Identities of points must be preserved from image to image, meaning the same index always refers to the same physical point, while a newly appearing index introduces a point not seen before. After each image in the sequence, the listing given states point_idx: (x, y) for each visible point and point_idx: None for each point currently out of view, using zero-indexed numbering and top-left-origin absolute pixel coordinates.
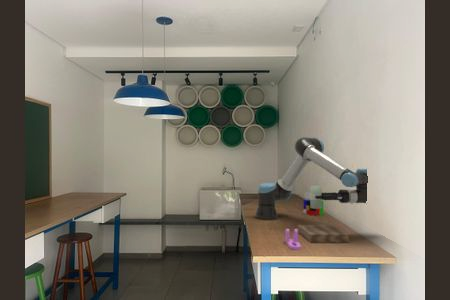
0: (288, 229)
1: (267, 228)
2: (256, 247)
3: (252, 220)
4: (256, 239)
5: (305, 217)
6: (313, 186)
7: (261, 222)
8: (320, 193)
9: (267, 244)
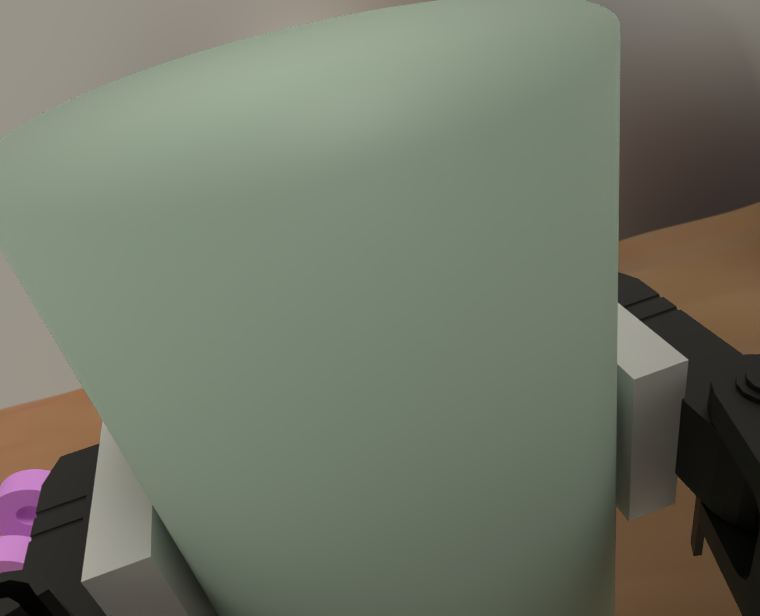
0: (2, 492)
1: None
2: (3, 416)
3: (719, 235)
4: None
5: None
6: (228, 59)
7: (698, 286)
8: (168, 525)
9: (51, 451)
